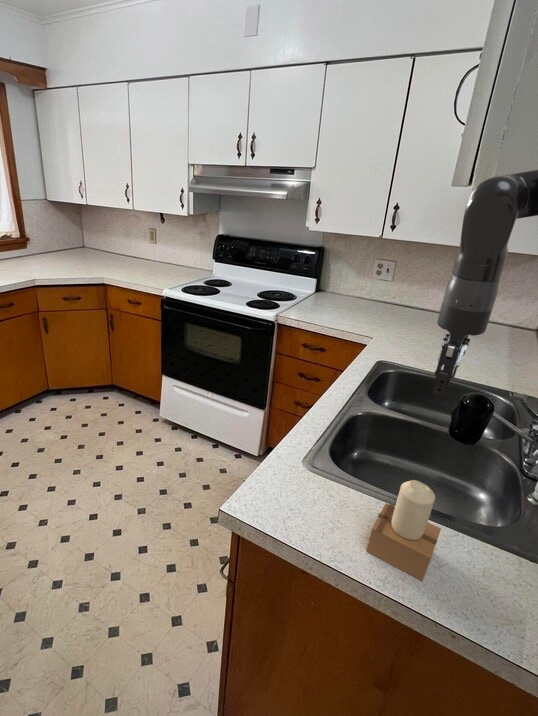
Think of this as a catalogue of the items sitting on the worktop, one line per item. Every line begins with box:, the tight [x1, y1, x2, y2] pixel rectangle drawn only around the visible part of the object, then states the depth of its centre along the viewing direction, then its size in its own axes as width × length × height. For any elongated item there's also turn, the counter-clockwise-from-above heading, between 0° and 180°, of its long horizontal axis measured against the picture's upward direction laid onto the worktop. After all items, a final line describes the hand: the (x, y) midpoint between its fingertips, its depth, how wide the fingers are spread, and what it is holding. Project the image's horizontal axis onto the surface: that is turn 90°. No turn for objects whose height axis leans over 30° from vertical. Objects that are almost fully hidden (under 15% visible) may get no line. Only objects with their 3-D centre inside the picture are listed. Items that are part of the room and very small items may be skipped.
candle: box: [391, 479, 436, 540], centre depth 75 cm, size 6×6×10 cm
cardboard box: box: [366, 502, 442, 582], centre depth 79 cm, size 10×8×6 cm
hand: (443, 385), depth 79 cm, fingers open, 8 cm apart
